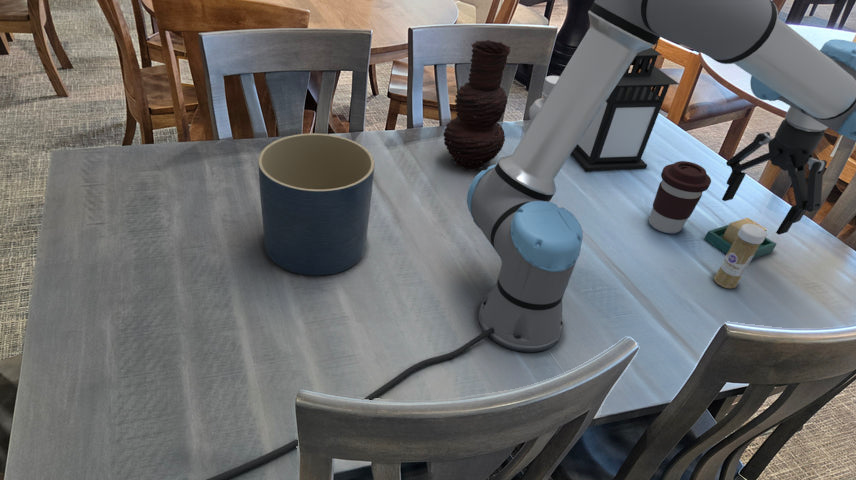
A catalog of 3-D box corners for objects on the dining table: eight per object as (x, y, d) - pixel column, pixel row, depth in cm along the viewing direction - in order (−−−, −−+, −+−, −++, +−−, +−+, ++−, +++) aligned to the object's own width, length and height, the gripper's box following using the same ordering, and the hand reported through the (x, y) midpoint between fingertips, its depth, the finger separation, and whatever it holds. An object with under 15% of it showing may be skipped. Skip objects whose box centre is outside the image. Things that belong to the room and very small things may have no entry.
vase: (430, 151, 168) (446, 37, 148) (482, 145, 172) (505, 33, 152) (454, 180, 156) (475, 61, 137) (509, 173, 160) (537, 57, 141)
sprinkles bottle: (709, 280, 131) (737, 227, 122) (719, 272, 133) (748, 220, 125) (730, 292, 128) (761, 239, 120) (740, 284, 130) (771, 231, 122)
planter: (378, 226, 139) (386, 144, 127) (351, 288, 123) (356, 200, 110) (284, 207, 143) (282, 125, 130) (245, 264, 127) (239, 177, 114)
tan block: (739, 252, 138) (749, 235, 135) (720, 239, 141) (729, 223, 138) (757, 246, 140) (767, 229, 137) (738, 233, 143) (747, 217, 141)
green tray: (740, 263, 136) (744, 255, 135) (704, 239, 142) (708, 230, 141) (772, 252, 140) (777, 244, 138) (735, 229, 146) (739, 220, 145)
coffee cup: (691, 240, 142) (719, 183, 132) (645, 233, 143) (670, 176, 133) (682, 216, 149) (708, 160, 140) (639, 210, 150) (662, 154, 141)
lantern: (585, 171, 163) (630, 34, 141) (557, 140, 176) (595, 10, 154) (645, 168, 166) (699, 34, 144) (614, 138, 179) (658, 10, 157)
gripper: (880, 150, 115) (817, 243, 129) (761, 96, 132) (717, 183, 146) (855, 157, 112) (794, 251, 126) (737, 100, 129) (695, 189, 143)
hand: (753, 215), depth 136 cm, fingers open, 13 cm apart
